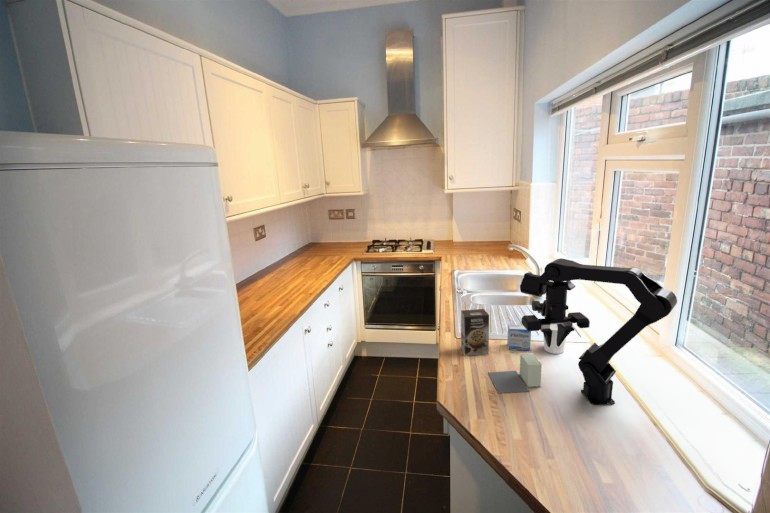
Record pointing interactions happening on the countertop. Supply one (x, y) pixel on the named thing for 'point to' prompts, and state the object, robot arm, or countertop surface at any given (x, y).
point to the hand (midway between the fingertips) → (553, 346)
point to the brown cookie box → (475, 332)
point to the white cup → (554, 342)
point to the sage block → (530, 370)
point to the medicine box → (518, 338)
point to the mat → (507, 382)
